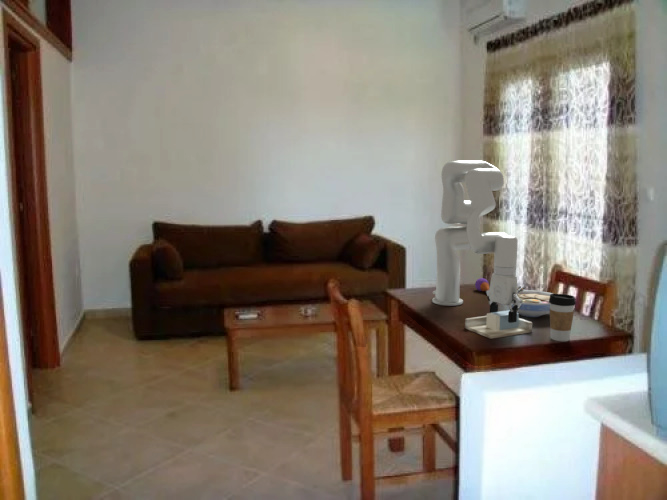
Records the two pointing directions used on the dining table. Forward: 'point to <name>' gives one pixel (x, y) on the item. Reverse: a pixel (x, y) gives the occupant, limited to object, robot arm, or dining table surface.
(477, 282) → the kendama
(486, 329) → the beige tray
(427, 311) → the dining table surface
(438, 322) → the dining table surface
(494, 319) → the light blue white block
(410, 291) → the dining table surface
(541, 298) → the ramen bowl
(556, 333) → the coffee cup
